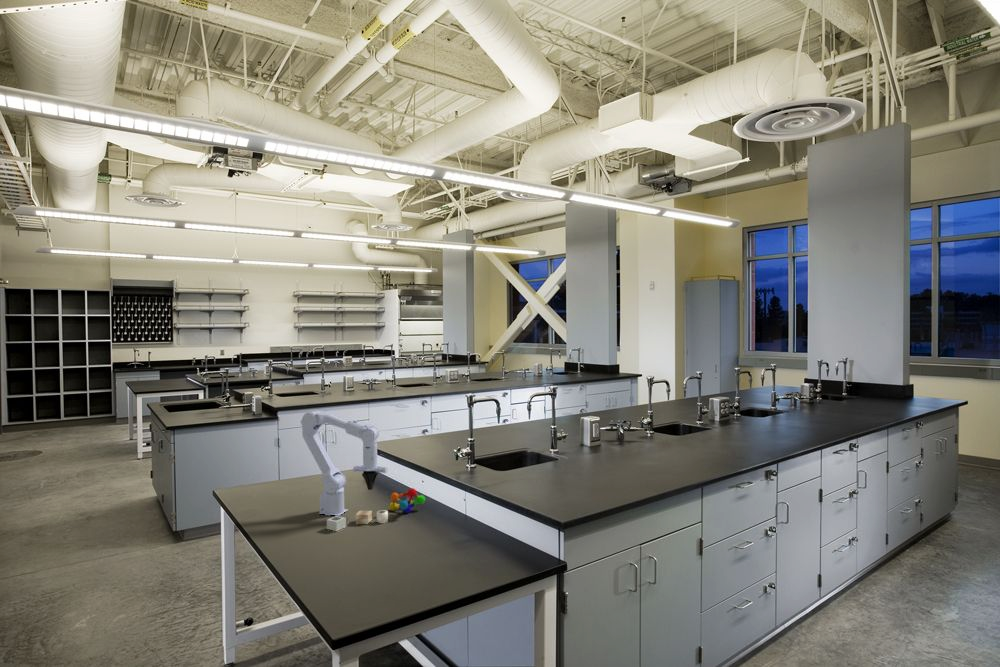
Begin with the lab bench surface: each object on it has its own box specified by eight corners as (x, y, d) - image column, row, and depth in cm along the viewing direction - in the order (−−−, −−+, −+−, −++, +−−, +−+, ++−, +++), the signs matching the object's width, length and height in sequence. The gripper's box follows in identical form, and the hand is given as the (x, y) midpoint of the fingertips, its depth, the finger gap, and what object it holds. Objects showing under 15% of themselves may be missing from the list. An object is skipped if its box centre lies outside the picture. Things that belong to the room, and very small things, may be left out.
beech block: (355, 524, 217) (355, 514, 217) (359, 520, 222) (359, 510, 222) (368, 525, 217) (368, 514, 217) (371, 520, 222) (371, 510, 222)
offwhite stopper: (374, 523, 219) (374, 512, 219) (379, 519, 223) (379, 509, 223) (385, 524, 218) (385, 513, 218) (389, 520, 222) (389, 510, 222)
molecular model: (384, 521, 230) (404, 512, 221) (378, 499, 233) (398, 489, 224) (412, 513, 242) (433, 504, 233) (406, 491, 244) (426, 482, 235)
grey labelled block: (326, 530, 212) (326, 519, 212) (336, 526, 216) (336, 515, 216) (336, 532, 209) (336, 521, 209) (346, 528, 214) (345, 517, 214)
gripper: (349, 457, 227) (349, 490, 227) (382, 459, 224) (382, 493, 224) (357, 454, 234) (358, 486, 234) (389, 455, 231) (389, 488, 231)
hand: (370, 489), depth 230 cm, fingers closed
